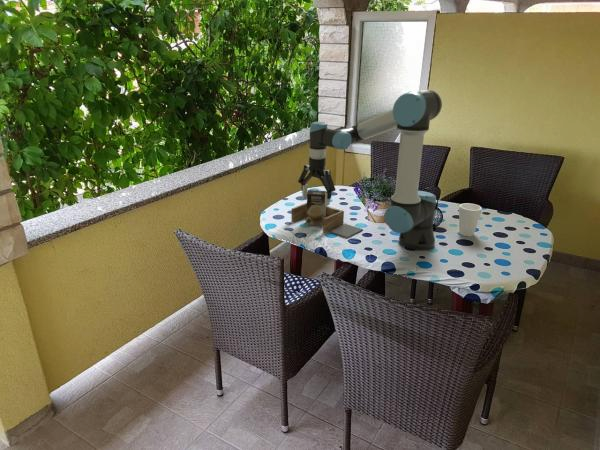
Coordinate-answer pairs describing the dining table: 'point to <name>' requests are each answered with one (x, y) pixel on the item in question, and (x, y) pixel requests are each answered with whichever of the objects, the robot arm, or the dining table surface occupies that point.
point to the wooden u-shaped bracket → (329, 222)
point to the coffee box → (315, 208)
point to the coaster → (346, 231)
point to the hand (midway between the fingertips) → (315, 201)
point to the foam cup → (468, 218)
